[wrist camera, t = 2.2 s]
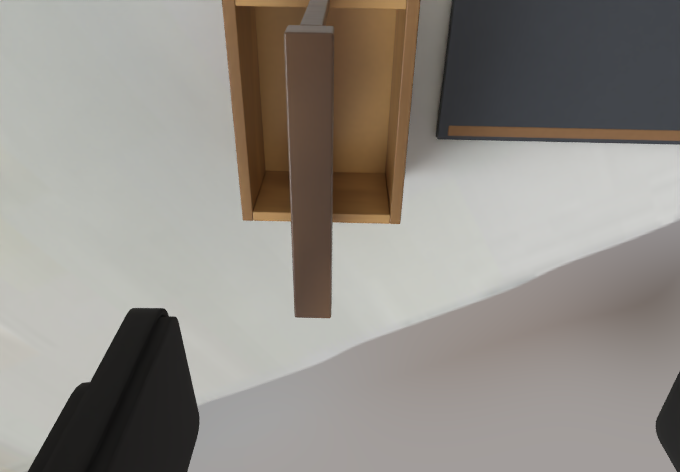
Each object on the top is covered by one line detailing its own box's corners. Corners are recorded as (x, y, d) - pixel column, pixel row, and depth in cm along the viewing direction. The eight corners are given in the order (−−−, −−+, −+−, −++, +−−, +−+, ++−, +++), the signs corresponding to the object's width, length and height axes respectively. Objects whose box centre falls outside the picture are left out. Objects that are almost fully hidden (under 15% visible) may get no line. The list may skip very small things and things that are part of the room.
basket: (258, 174, 35) (210, 316, 23) (243, -25, 29) (167, 29, 17) (393, 177, 35) (414, 320, 23) (408, -22, 29) (450, 35, 17)
